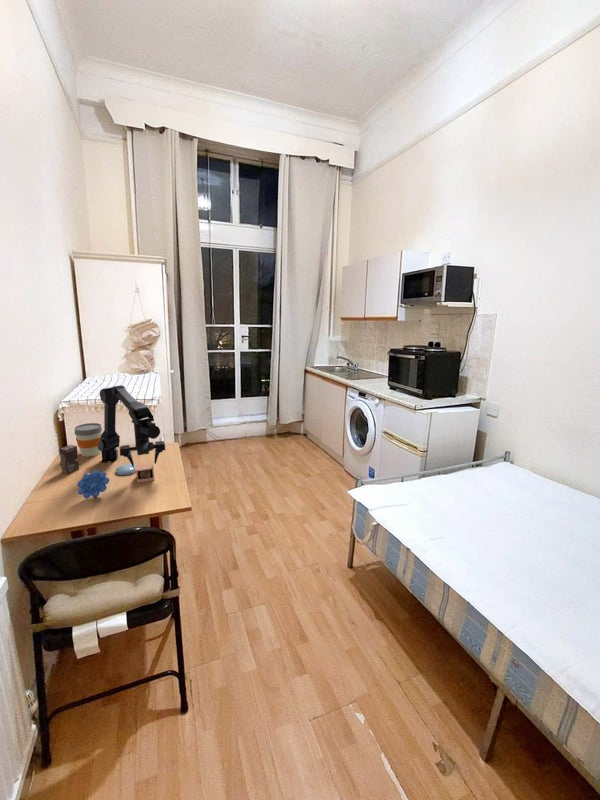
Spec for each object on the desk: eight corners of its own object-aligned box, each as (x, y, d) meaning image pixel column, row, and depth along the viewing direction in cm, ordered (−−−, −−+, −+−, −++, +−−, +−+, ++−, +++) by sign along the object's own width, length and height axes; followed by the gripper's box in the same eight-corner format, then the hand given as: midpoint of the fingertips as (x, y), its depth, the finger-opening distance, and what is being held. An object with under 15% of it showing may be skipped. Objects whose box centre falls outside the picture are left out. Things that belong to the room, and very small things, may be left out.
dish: (113, 476, 165) (112, 473, 165) (119, 466, 174) (118, 464, 174) (136, 474, 167) (135, 472, 167) (140, 465, 176) (140, 463, 176)
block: (141, 480, 162) (140, 471, 161) (140, 476, 165) (140, 468, 164) (150, 479, 163) (149, 470, 162) (150, 475, 167) (149, 466, 166)
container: (137, 482, 160) (136, 470, 158) (137, 475, 166) (135, 464, 164) (154, 479, 163) (153, 467, 161) (153, 473, 169) (152, 461, 167)
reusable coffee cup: (96, 458, 183) (92, 431, 180) (72, 457, 183) (68, 430, 180) (109, 449, 195) (106, 423, 192) (86, 448, 196) (83, 422, 192)
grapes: (110, 489, 153) (107, 463, 150) (111, 496, 148) (108, 470, 145) (79, 495, 147) (75, 469, 144) (78, 503, 142) (74, 476, 139)
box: (68, 474, 166) (64, 450, 163) (61, 472, 167) (58, 448, 164) (80, 469, 171) (77, 445, 168) (74, 467, 173) (70, 444, 170)
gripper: (117, 442, 148) (121, 476, 152) (165, 436, 156) (167, 469, 160) (118, 433, 158) (122, 465, 162) (163, 428, 165) (165, 459, 169)
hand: (144, 465), depth 163 cm, fingers open, 9 cm apart
